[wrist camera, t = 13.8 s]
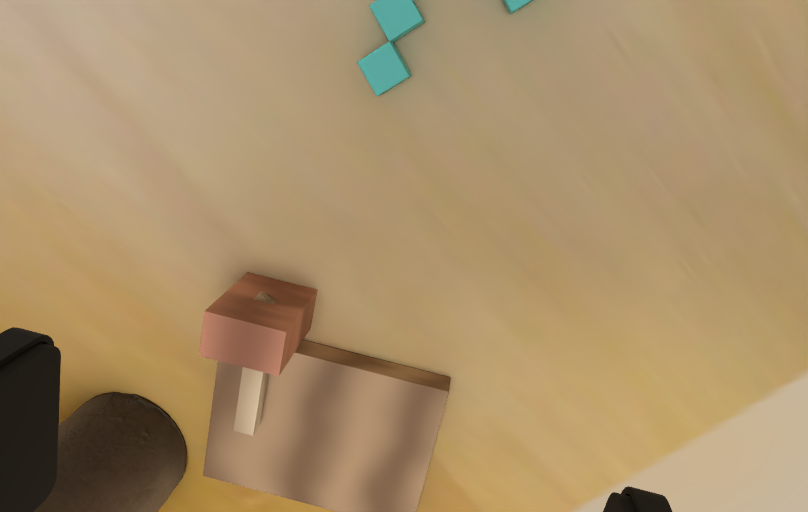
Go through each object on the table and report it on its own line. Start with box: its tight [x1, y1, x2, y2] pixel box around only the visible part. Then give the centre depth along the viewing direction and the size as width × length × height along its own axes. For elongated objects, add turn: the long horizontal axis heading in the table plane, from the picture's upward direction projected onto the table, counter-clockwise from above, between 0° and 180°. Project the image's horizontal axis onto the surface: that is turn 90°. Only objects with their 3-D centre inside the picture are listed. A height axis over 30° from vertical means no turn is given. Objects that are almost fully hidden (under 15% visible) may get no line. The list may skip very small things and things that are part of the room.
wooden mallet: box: [199, 273, 317, 436], centre depth 41 cm, size 5×10×7 cm, turn 168°
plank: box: [203, 340, 450, 512], centre depth 44 cm, size 16×12×2 cm
